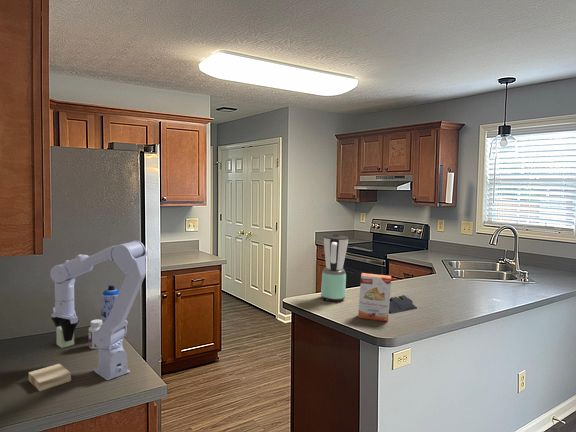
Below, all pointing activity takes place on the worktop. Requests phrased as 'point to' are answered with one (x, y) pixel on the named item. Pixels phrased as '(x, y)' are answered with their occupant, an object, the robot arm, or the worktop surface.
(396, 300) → the dark slate chunk
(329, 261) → the mint green blender
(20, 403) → the worktop surface
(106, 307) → the aerosol can
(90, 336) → the pill bottle
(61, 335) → the green block
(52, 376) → the birch block
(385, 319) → the cracker box
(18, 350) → the worktop surface
